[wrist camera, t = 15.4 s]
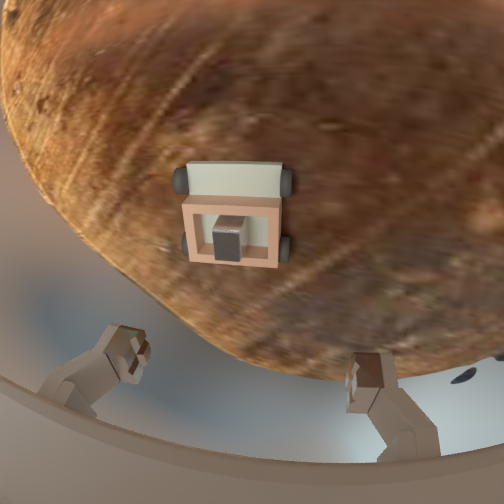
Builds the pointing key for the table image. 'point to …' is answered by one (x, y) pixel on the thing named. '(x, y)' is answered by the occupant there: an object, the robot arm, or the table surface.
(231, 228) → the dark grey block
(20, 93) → the table surface
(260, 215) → the chassis
